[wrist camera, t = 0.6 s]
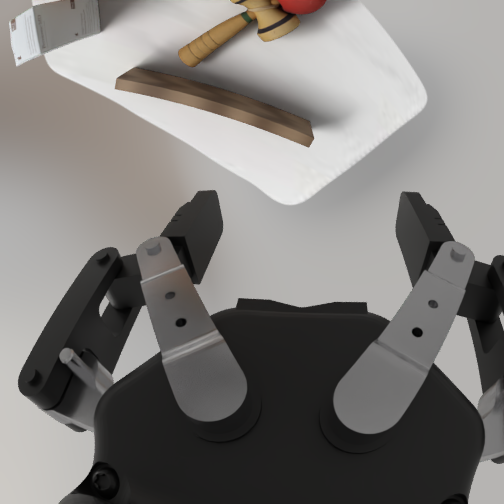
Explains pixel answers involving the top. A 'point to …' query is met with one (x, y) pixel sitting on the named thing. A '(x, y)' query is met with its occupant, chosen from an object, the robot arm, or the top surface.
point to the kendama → (259, 6)
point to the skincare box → (52, 27)
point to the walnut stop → (217, 103)
